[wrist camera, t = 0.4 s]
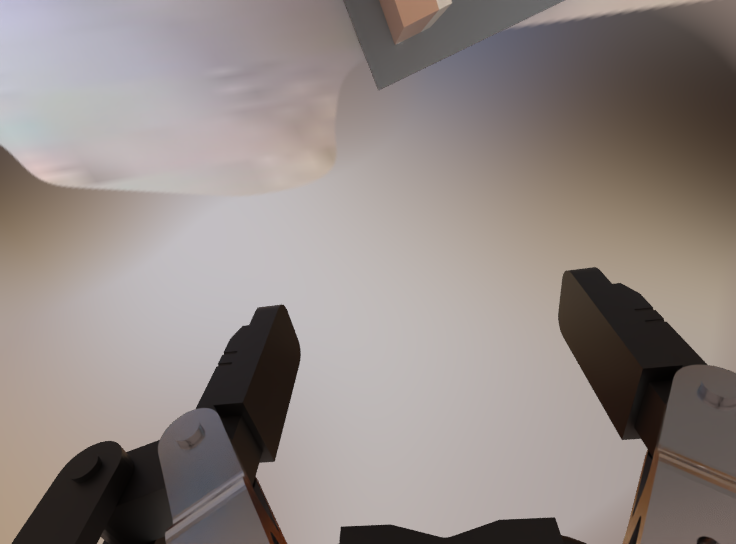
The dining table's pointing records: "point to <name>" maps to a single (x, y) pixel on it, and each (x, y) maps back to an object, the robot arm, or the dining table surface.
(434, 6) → the tile
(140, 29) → the dining table surface
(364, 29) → the slate board
